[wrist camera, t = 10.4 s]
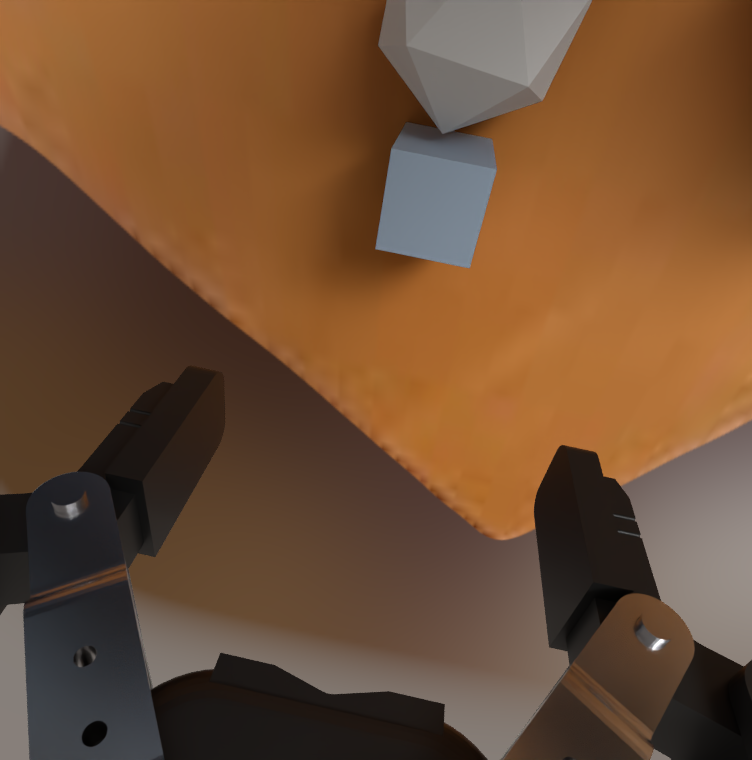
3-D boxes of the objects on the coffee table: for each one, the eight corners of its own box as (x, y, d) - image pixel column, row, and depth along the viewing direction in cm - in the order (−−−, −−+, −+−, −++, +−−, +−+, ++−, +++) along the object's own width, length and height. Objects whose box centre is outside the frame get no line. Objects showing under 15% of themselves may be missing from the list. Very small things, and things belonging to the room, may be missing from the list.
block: (406, 121, 31) (391, 148, 25) (492, 138, 31) (496, 169, 25) (391, 207, 34) (375, 248, 28) (469, 223, 33) (469, 268, 28)
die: (511, 154, 30) (593, -60, 26) (541, 170, 23) (666, -134, 18) (368, 107, 30) (426, -120, 25) (347, 106, 22) (426, -223, 18)
